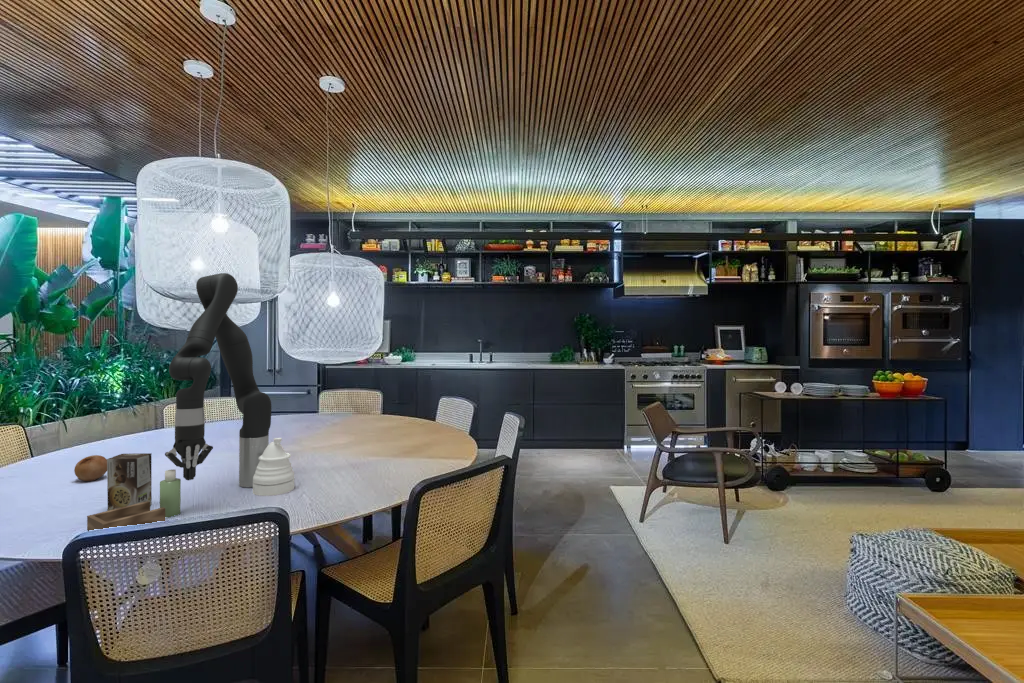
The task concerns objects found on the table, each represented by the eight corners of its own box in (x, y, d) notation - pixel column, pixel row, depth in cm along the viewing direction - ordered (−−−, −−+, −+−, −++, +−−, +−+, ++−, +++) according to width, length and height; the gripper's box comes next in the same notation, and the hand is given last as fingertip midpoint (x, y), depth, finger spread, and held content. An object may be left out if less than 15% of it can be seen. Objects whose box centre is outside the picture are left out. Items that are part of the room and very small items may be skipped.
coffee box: (152, 504, 149) (152, 452, 149) (137, 511, 143) (137, 458, 143) (122, 504, 149) (123, 452, 149) (106, 511, 143) (106, 458, 143)
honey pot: (302, 488, 167) (302, 436, 167) (267, 498, 156) (267, 443, 156) (279, 482, 174) (280, 432, 173) (244, 491, 163) (245, 439, 162)
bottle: (175, 510, 145) (175, 467, 145) (183, 513, 142) (184, 470, 142) (156, 515, 140) (156, 471, 140) (164, 518, 138) (164, 474, 138)
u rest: (147, 514, 141) (147, 500, 141) (165, 522, 135) (165, 508, 135) (87, 530, 129) (87, 515, 129) (103, 539, 123) (103, 524, 123)
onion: (88, 491, 170) (80, 469, 166) (72, 481, 173) (64, 459, 169) (117, 475, 178) (111, 454, 174) (101, 465, 181) (94, 444, 177)
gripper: (206, 418, 153) (206, 472, 153) (159, 424, 142) (158, 482, 142) (219, 421, 149) (218, 476, 149) (171, 427, 138) (170, 487, 138)
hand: (189, 479), depth 146 cm, fingers closed
